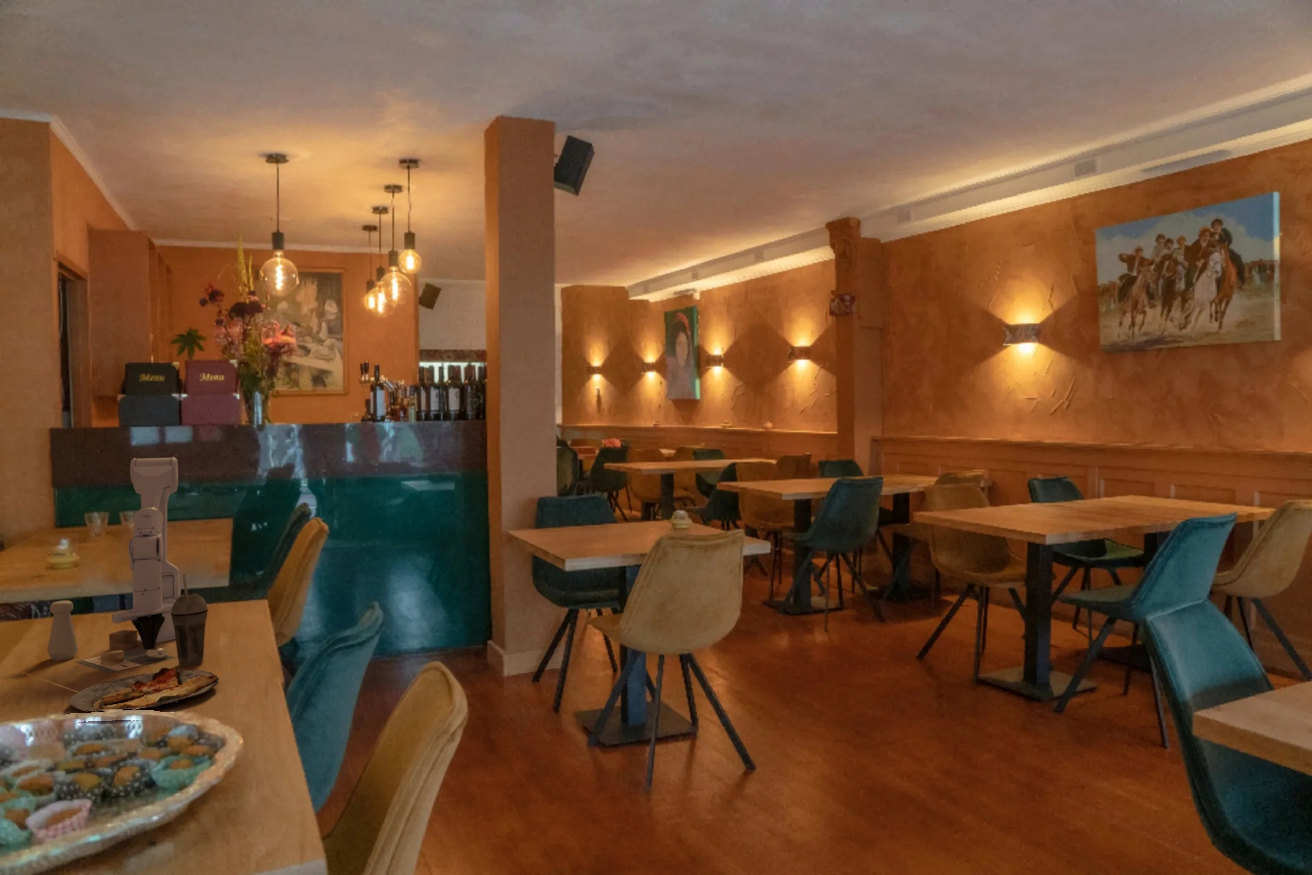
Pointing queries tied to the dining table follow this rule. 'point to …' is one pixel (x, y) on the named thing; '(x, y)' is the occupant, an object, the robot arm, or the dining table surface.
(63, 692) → the dining table surface
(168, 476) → the robot arm
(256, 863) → the dining table surface
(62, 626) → the salt shaker
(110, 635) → the walnut block
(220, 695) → the dining table surface
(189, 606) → the beverage cup
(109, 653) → the beech disc
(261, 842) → the dining table surface
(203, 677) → the food plate
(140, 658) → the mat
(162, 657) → the tealight tin
